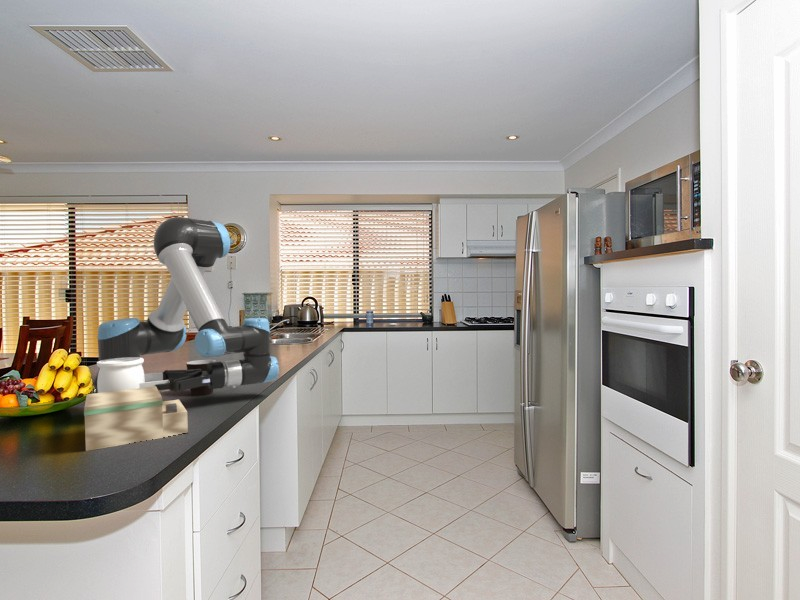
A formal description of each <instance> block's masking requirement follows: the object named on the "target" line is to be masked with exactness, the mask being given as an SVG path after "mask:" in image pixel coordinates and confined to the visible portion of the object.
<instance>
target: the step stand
mask: <svg viewBox="0 0 800 600" xmlns="http://www.w3.org/2000/svg"><path fill="white" fill-rule="evenodd" d="M83 416H84V431H85V433H84V434H85V436H84V437H85V439H84V440H85V452H89V451H94V450H100V449H106V448H111V447H112V448H113V447H118V446H123V445H129V443H130V444H134V442H136V443H141V442H140V441H142V442H147V441H153V440H156V439H157V440H159V439H163V437H165V438H169V437H168V436H171V437H174V436H173V435H176V436H179V435H178V434H182V433H187V432H188V433H189V429H188V428H189V426H188V424H189V423H188V419H189V418H188V411H187V409H186V408H185V406H184V405H183V403H182V402H181V400H180V399H178V398H177V399H174V400H164V401H163V397H162V395H161V392H159V391H158V389H157V387H156V386H154V387H145V388H137V389H128V390H120V391H111V392H102V393H87V394H86V398H85V403H84V409H83ZM182 435H183V434H182ZM152 439H153V440H152ZM146 440H147V441H146Z"/></svg>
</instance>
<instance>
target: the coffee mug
mask: <svg viewBox="0 0 800 600" xmlns="http://www.w3.org/2000/svg"><path fill="white" fill-rule="evenodd" d="M211 362H217V361H216V359H198V360H197V359H196V360H191V361H186V363H185V364H186V370H192V369H201V371H206V370H207V365H208V363H211ZM189 390H190V395H191V396H192V397H193V396H194V397H198V396H199V397H200V396H203V397H204V396H209V395H212V394H213V393H214V389H210V388H209V387H208V386H200V387H196V388H191V389H189Z"/></svg>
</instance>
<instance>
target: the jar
mask: <svg viewBox="0 0 800 600" xmlns="http://www.w3.org/2000/svg"><path fill="white" fill-rule="evenodd" d="M144 362H145V359H144V358H143V357H140V358H139V357H126V358H114V359H107V360H102V361H99V360H98V361H97V362H96V366H97V368H98V370H99V368H100V370H99V373H98V372H97V373H98V379H97V388H98V393H102V392H111V391H120V390H128V389H137V388H140V387H139V383H145V377H144V374H145V371H144V367H143V364H144Z"/></svg>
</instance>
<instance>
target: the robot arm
mask: <svg viewBox="0 0 800 600" xmlns="http://www.w3.org/2000/svg"><path fill="white" fill-rule="evenodd" d="M230 248H231V238H230V234H229V231H228V230H227V228H226V227H225V226H224V225H223V224H222V223H220V222H216V221H212V220H204V219H203V220H202V219H197V218H196V219H195V218H189V217H185V216H184V217H182V216H176V217H175V216H174V217H171V218H168V219H166V220H164V221H163V222H162V223H160V224H159V226H158V227H157V229H156V231H155V233H154V237H153V249H154V252H155V255H156V258H157V259H158V261H159V263H161V264H162V265H165V266H166V268H167V271H168V273H169V275H170V276H171V278H170V280H169V283H168V285H167V287H166V289H165V291H164V294H163V296H162V298H161V299H160V302H159V304H158V306H157V309H156V310H153V311H151V312H150V313H149V315H148V318H147V319H146V320H144V321H143V320H142V321H141V320H140V319H139V318H138V317H127V318H126V317H125V318H118V319H113V320H107V321H105V322H102V323H100V324H99V326H98V328H97V337H96V338H97V354H98V362H99V361H102V360H107V359H114V358H126V357H139V358H141V356H145V355H153V354H154V355H155V354H161V353H170V352H173V351H177V350H179V349H180V348H181V347H183V345H184V344H185V343H186V338H187V334H186V333H187V332H188V331H187V326H186V325H185V321H184V319H183V318H184V316H185V314H186V312H187V311H188V314H189V316H190V317H191V320H192V321H193V323H194V326H195V328H196V330H197V333H196V334H195V337H194V344H195V345H194V346H195V347H194V348H195V351H196V353H197V354H198V355H200V356H201V357H203V358H217V357H221V356H225V355H233V354H241V353H242V354H243V359H231V360H224V361H223V362H222V361H216V362H211V363H208V365H207V370H206V371H201V369H192V370H187V369H169V370H168V369H166V370H164V371H160V372H149V373H144V377H145V383H139V387H140V388H145V387H154V386H156V387H157V389H158V391H159V393H161V392H169V391H170V392H175V393H177V392H183V391H187V390H190V389H191V388H196V387H200V386H208V387H209V388H210V389H213V390H217V389H223V388H224V387H226V388H230V387H231V388H232V389H236V388H237V386H239V387H240V386H245V385H255V384H263V383H265V384H266V383H268V382H274V381H276V380H277V379H278V377H279V373H280V365H279V361H278V359H277V357H275V356H272V355H271V354H270V353H271V352H270V351H271V350H270V349H271V346H270V341H271V340H270V338H271V337H270V333H271V331H270V322H269V320H268V318H265V317H253V318H252V317H250V318H244V319H243V321H242V325H239V326H229V325H228V323H227V321H226V320H225V318H224V316H223V314H222V312H221V309H220V307H219V306H218V304H217V303H216V300H215V298H214V295H212V292H211V291H210V288H209V286H208V285H207V283H206V281H205V279H204V277H203V276H204V274H205V272H206V270H207V269H210V268H213V266H214V265H215V263H216V260H217V259H222V258H224V257H226V256H228V254H229V252H230ZM99 370H100V368H99V367H98V371H97V373H96V376H95V379H94V381H93V385H94V387H95V389H96V393H98V388H97V379H98V373H99Z"/></svg>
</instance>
